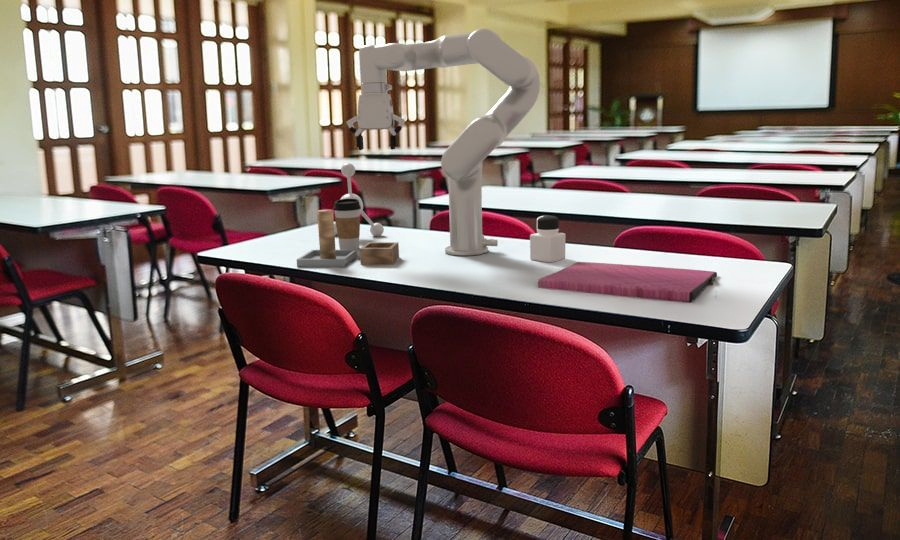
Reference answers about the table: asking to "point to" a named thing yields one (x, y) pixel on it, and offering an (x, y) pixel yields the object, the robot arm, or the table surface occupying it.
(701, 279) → the maroon flat block
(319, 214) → the dowel
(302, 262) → the tray
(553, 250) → the medicine bottle
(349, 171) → the molecular model
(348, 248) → the coffee cup
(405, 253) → the table surface
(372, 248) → the shallow tan box
